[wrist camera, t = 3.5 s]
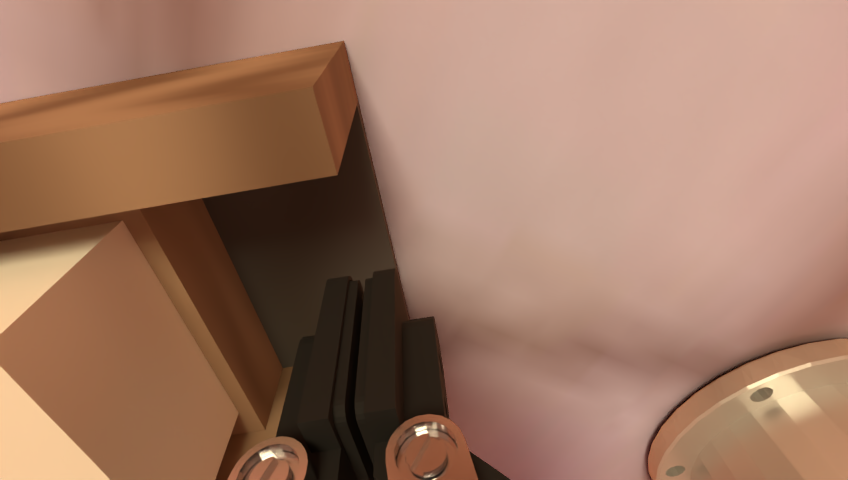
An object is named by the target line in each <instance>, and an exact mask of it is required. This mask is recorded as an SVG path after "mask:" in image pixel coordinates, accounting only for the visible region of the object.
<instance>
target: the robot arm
mask: <svg viewBox="0 0 848 480" xmlns="http://www.w3.org/2000/svg"><path fill="white" fill-rule="evenodd" d="M648 471H649V474H650V476H651V478H652V480H848V339H833V340H826V341H820V342H813V343H807V344H803V345H799V346H796V347H792V348H788V349H785V350H781V351H777V352H775V353H772V354H769V355H767V356H764V357H762V358H759V359H756V360H754V361H751V362H749V363H746V364H744V365H742V366H740V367H738V368H737V369H735V370H733V371H731V372H729V373H727V374H725V375H723V376H721V377H719V378H718V379H716V380H714V381H713V382H711V383H710V384H708V385H707V386H705V387H704V388H702V389H701V390H699V391H698V392H696V393H695V394H694V395H693V396H691V397H690V398H689V399H688V400H687V401H686V402H684V403H683V404H682V405H681V406H680V407H679V408H677V409H676V410H675V412H674V413H673V414H672V415H671V416H670V417H669V418H668V420H667V421H666V422H665V423H664V424H663V425H662V427H661V429H660V430H659V432H658V434H657V436H656V437H655V439H654V441H653V443H652V445H651V449H650V453H649V456H648ZM228 480H510V479H509V478H507V477H506V476H504V475H503V474H502V473H500V472H499V471H497V470H496V469H494V468H493V467H491V466H490V465H489V464H487V463H486V462H484V461H483V460H481V459H480V458H478V457H477V456H476V455H474V454H473V453H471V452H470V451H469V449H468V446H467V443H466V440H465V438H464V436H463V434H462V432H461V430H460V428H459V427H458V426H457V425H456V424H455V423H454V422H452V421H451V420H449V412H448V404H447V396H446V388H445V380H444V372H443V365H442V358H441V351H440V345H439V340H438V334H437V329H436V324H435V319H434V316H433V317H427V318H420V319H414V320H408V317H407V312H406V308H405V304H404V300H403V295H402V291H401V287H400V282H399V278H398V274H397V271H396V268H393V269H387V270H380V271H374V272H373V277H372V278H368V279H365V288H364V291H363V287H362V284H361V282H360V280H355V281H353V279H352V277H351V276H343V277H337V278H331V279H328V280H327V282H326V286H325V291H324V295H323V300H322V305H321V309H320V314H319V319H318V324H317V328H316V333H315V335H313V336H307V337H303V338H302V339H301V340H300V342H299V345H298V349H297V353H296V357H295V361H294V365H293V369H292V373H291V377H290V381H289V385H288V389H287V393H286V397H285V401H284V405H283V409H282V413H281V417H280V421H279V425H278V429H277V433H276V437H274V438H269V439H267V440H265V441H262V442H260V443H258V444H257V445H255V446H254V447H252V448H251V449H250V450H248V451H247V452H246V453H245V454H244V455H243V456H242V457H241V458H240V459H239V461H238V462H237V463H236V465H235V467H234V468H233V470H232V472H231V473H230V475H229V478H228Z"/></svg>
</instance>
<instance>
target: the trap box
mask: <svg viewBox="0 0 848 480" xmlns="http://www.w3.org/2000/svg"><path fill="white" fill-rule="evenodd" d="M122 220H123V222H124V223H125V225H126V227H127V228H128V230H129V232H130V233H131V235H132V237H133V238H134V240H135V242H136V243H137V245H138V247H139V248H140V250H141V252H142V253H143V255H144V257H145V258H146V260H147V262H148V263H149V265H150V267H151V268H152V270H153V272H154V273H155V275H156V277H157V278H158V280H159V282H160V283H161V285H162V287H163V288H164V290H165V292H166V293H167V295H168V297H169V298H170V300H171V301H172V303H173V305H174V306H175V308H176V310H177V311H178V313H179V315H180V316H181V318H182V320H183V321H184V323H185V325H186V326H187V328H188V330H189V331H190V333H191V335H192V336H193V338H194V340H195V341H196V343H197V345H198V346H199V348H200V350H201V351H202V353H203V355H204V356H205V358H206V360H207V361H208V363H209V365H210V366H211V368H212V370H213V371H214V373H215V375H216V376H217V378H218V380H219V381H220V383H221V384H222V386H223V388H224V389H225V391H226V393H227V394H228V396H229V398H230V399H231V401H232V403H233V404H234V406H235V408H236V409H237V411H238V413H239V414H238V416H237V419H236V422H235V425H234V428H233V431H232V434H231V436H230V439H229V442H228V445H227V448H226V451H225V454H224V456H223V459H222V462H221V465H220V468H219V471H218V473H217V476H216V479H215V480H228V478H229V475H230V473H231V472H232V470H233V468H234V467H235V465H236V463H237V462H238V461H239V459H240V458H241V457H242V456H243V455H244V454H245V453H246V452H247V451H248V450H250V449H251V448H252V447H254V446H255V445H257V444H258V443H260V442H262V441H265V440H267V439H269V438H274V437H276V433H277V429H278V425H279V421H280V417H281V413H282V409H283V405H284V401H285V397H286V393H287V389H288V385H289V381H290V377H291V373H292V369H293V365H294V361H295V357H296V353H297V349H298V345H299V342H300V340H301V339H302V338H303V337H307V336H313V335H315V333H316V328H317V324H318V319H319V314H320V309H321V305H322V300H323V295H324V291H325V286H326V282H327V280H328V279H331V278H337V277H343V276H351V277H352V279H353V281H355V280H360V282H361V284H362V287H363V291H364V288H365V279H368V278H372V277H373V272H374V271H380V270H387V269H393V268H396V271H397V274H398V278H399V282H400V287H401V291H402V295H403V300H404V304H405V308H406V312H407V317H408V320H409V315H408V311H407V307H406V303H405V298H404V294H403V290H402V286H401V281H400V277H399V273H398V269H397V264H396V260H395V256H394V252H393V247H392V243H391V239H390V235H389V230H388V226H387V222H386V218H385V213H384V209H383V205H382V201H381V196H380V192H379V188H378V184H377V179H376V175H375V171H374V167H373V162H372V158H371V154H370V150H369V145H368V141H367V137H366V132H365V128H364V124H363V120H362V115H361V111H360V107H359V103H358V98H357V94H356V90H355V86H354V81H353V77H352V73H351V69H350V64H349V60H348V56H347V52H346V47H345V43H344V41H341V42H336V43H330V44H325V45H319V46H314V47H308V48H303V49H297V50H292V51H286V52H281V53H275V54H270V55H264V56H259V57H253V58H248V59H242V60H237V61H231V62H226V63H220V64H215V65H209V66H204V67H198V68H193V69H187V70H182V71H176V72H171V73H166V74H160V75H155V76H149V77H144V78H138V79H133V80H127V81H122V82H116V83H111V84H105V85H100V86H94V87H89V88H83V89H78V90H72V91H67V92H61V93H56V94H50V95H45V96H39V97H34V98H28V99H23V100H17V101H12V102H6V103H1V104H0V241H5V240H10V239H16V238H22V237H28V236H34V235H40V234H46V233H51V232H57V231H63V230H69V229H75V228H81V227H87V226H92V225H98V224H104V223H110V222H116V221H122Z"/></svg>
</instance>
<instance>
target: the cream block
mask: <svg viewBox="0 0 848 480" xmlns="http://www.w3.org/2000/svg"><path fill="white" fill-rule="evenodd" d="M238 414H239V413H238V411H237V409H236V408H235V406H234V404H233V403H232V401H231V399H230V398H229V396H228V394H227V393H226V391H225V389H224V388H223V386H222V384H221V383H220V381H219V380H218V378H217V376H216V375H215V373H214V371H213V370H212V368H211V366H210V365H209V363H208V361H207V360H206V358H205V356H204V355H203V353H202V351H201V350H200V348H199V346H198V345H197V343H196V341H195V340H194V338H193V336H192V335H191V333H190V331H189V330H188V328H187V326H186V325H185V323H184V321H183V320H182V318H181V316H180V315H179V313H178V311H177V310H176V308H175V306H174V305H173V303H172V301H171V300H170V298H169V297H168V295H167V293H166V292H165V290H164V288H163V287H162V285H161V283H160V282H159V280H158V278H157V277H156V275H155V273H154V272H153V270H152V268H151V267H150V265H149V263H148V262H147V260H146V258H145V257H144V255H143V253H142V252H141V250H140V248H139V247H138V245H137V243H136V242H135V240H134V238H133V237H132V235H131V233H130V232H129V230H128V228H127V227H126V225H125V223H124V222H123V220H122V221H116V222H110V223H104V224H98V225H92V226H87V227H81V228H75V229H69V230H63V231H57V232H51V233H46V234H40V235H34V236H28V237H22V238H16V239H10V240H5V241H0V480H215V479H216V476H217V473H218V471H219V468H220V465H221V462H222V459H223V456H224V454H225V451H226V448H227V445H228V442H229V439H230V436H231V434H232V431H233V428H234V425H235V422H236V419H237V416H238Z"/></svg>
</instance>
